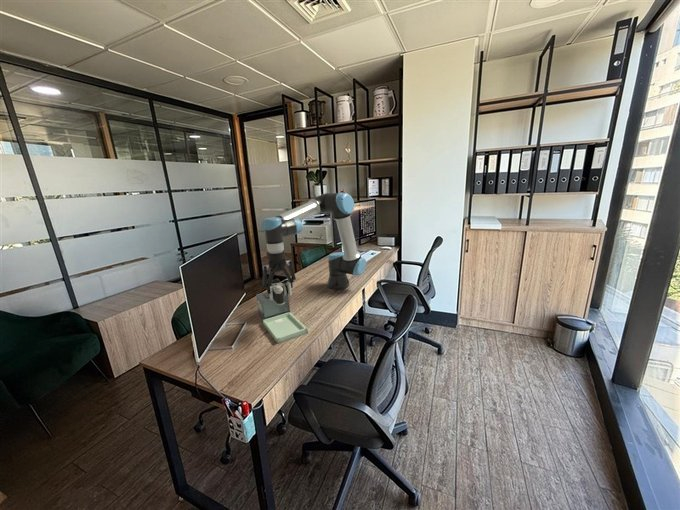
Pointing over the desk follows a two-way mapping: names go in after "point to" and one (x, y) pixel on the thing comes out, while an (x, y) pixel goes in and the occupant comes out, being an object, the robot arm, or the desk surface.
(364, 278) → the desk surface
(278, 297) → the camera
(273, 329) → the tray
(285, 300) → the block
